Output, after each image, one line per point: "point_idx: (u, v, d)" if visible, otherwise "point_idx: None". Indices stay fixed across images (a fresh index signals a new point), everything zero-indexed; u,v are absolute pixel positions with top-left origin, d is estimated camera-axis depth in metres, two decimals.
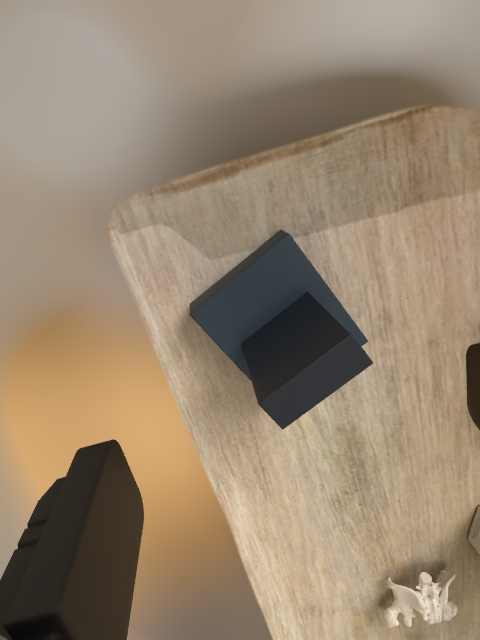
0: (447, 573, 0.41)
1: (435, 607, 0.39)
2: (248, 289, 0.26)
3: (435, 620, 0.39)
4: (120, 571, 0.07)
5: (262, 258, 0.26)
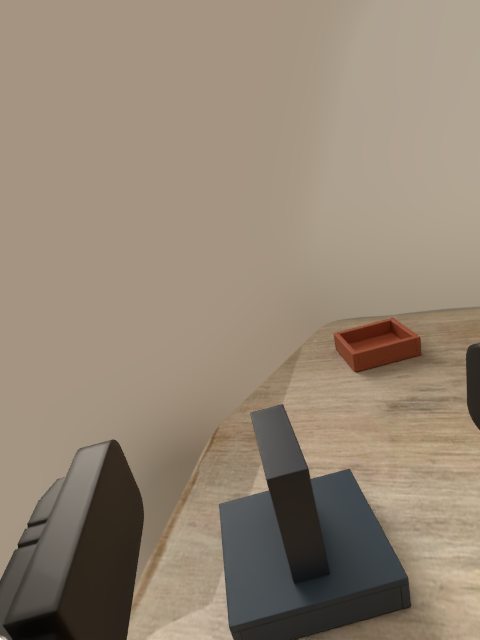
0: None
1: None
2: (241, 551, 0.25)
3: None
4: (121, 570, 0.07)
5: (223, 529, 0.27)
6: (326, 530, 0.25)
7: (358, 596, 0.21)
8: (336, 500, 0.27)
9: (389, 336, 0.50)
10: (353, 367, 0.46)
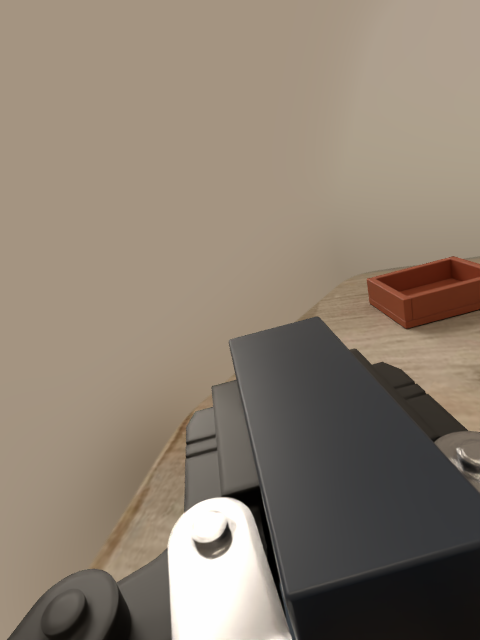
0: None
1: None
2: None
3: None
4: None
5: None
6: None
7: None
8: None
9: (449, 282, 0.34)
10: (403, 321, 0.30)
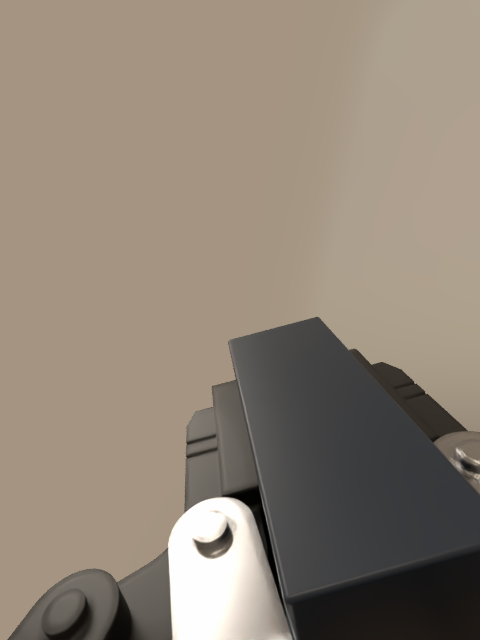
0: None
1: None
2: None
3: None
4: None
5: None
6: None
7: None
8: None
9: None
10: None
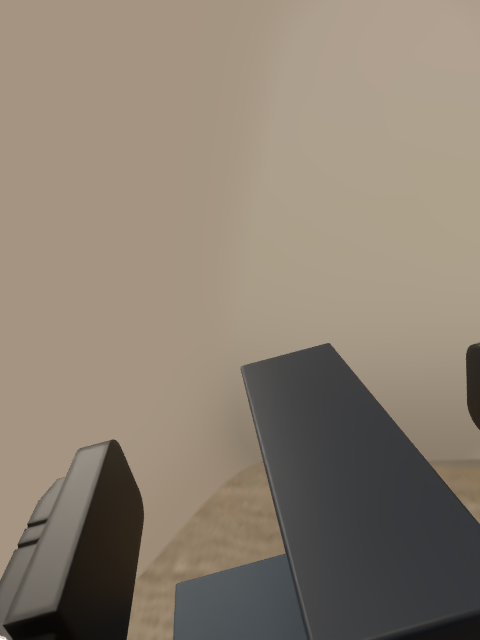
0: None
1: None
2: None
3: None
4: (121, 570, 0.07)
5: None
6: None
7: None
8: None
9: None
10: None
